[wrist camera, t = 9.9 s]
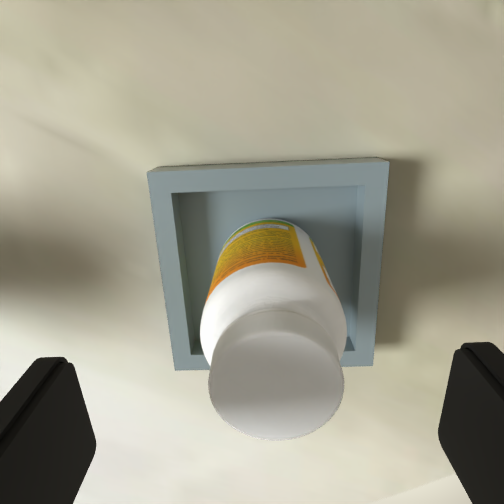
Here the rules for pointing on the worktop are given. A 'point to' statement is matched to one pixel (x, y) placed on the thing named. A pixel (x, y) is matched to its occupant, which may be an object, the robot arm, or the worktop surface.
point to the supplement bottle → (273, 333)
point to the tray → (276, 207)
